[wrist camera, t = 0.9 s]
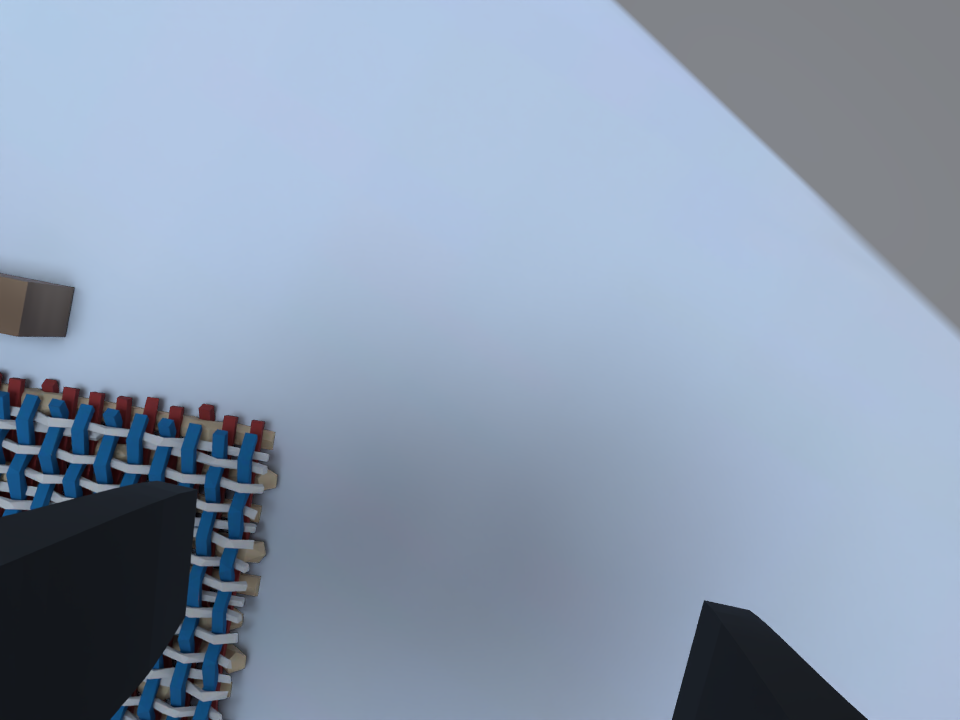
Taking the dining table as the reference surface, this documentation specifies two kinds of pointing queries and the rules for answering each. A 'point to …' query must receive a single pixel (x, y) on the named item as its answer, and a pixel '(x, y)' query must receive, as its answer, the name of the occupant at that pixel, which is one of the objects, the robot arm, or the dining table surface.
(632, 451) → the dining table surface
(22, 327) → the walled channel
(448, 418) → the dining table surface
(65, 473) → the woven mat
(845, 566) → the dining table surface
